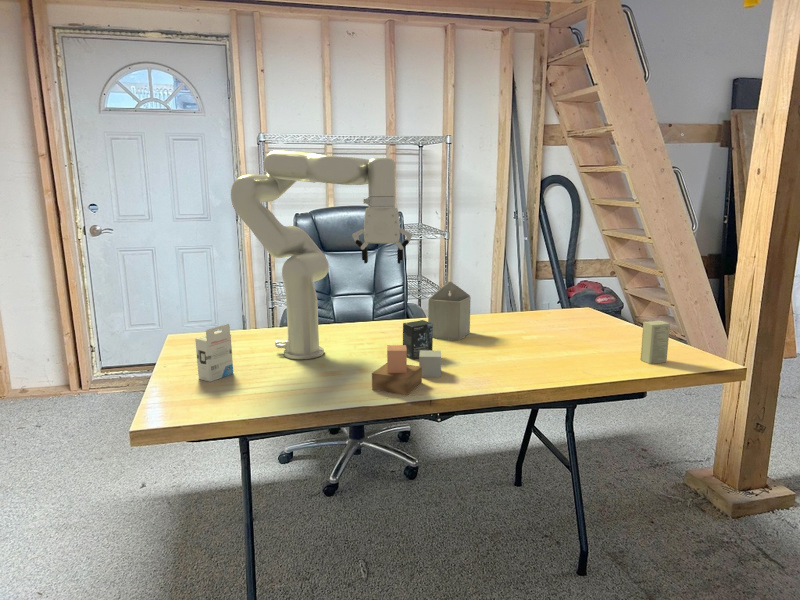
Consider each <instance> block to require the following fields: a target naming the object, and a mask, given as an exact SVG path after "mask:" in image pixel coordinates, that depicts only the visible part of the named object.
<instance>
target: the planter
mask: <svg viewBox="0 0 800 600" xmlns="http://www.w3.org/2000/svg"><path fill="white" fill-rule="evenodd" d="M449 294H450V295H449ZM427 302H428V303H427V307H428V309H427V310H428V311H427V314H428V315H427V320H428V321H427V322H430V323H433V339H441V340H450V341H451V340H453V341H460V340H461V339H463V338H465V337H467V336H468V335H469V334H470V333H471V295H470V294H469V293H467V292H466V291H465V290H463V289H462V288H461V287H459V286H458V285H457V284H455V283H453V282H452V281H450V280H449V281H448V282H446V284H444V285H442V287H440V288H439V289H438V290H437V291H436V292H435V293H433V294H432V296H430V297H429V298H428V301H427Z"/></svg>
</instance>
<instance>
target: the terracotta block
mask: <svg viewBox="0 0 800 600" xmlns="http://www.w3.org/2000/svg"><path fill="white" fill-rule="evenodd" d="M386 350H387V351H386V353H387V354H386V358H387V359H386V361H387V362H386V363H387V373H407V365H408V363H407V360H408V359H407V358H408V357H407V349H406V345H403V344H402V345H401V344H391V345H387V346H386Z"/></svg>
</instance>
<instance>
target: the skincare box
mask: <svg viewBox="0 0 800 600" xmlns="http://www.w3.org/2000/svg"><path fill="white" fill-rule="evenodd" d="M642 325H643V326H642V336H641V347H640V361H642V362H644V363H646V364H648V365H652V364H662V363H667V362H668V350H669V349H668V348H669V341H670V340H669V338H670V326H671V323H669V322H667V321H663V320H661V319H660V320H658V319H657V320H649V321H643V324H642Z"/></svg>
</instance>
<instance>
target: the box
mask: <svg viewBox="0 0 800 600" xmlns="http://www.w3.org/2000/svg"><path fill="white" fill-rule="evenodd" d="M433 339H434V338H433V323H430V322H428V321H427V320H424V319H420V320H414V321H409V322H403V323H402V345H406V349H407V358H408V359H410V360H415V359H419V355H420V350H432V351H433Z"/></svg>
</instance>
